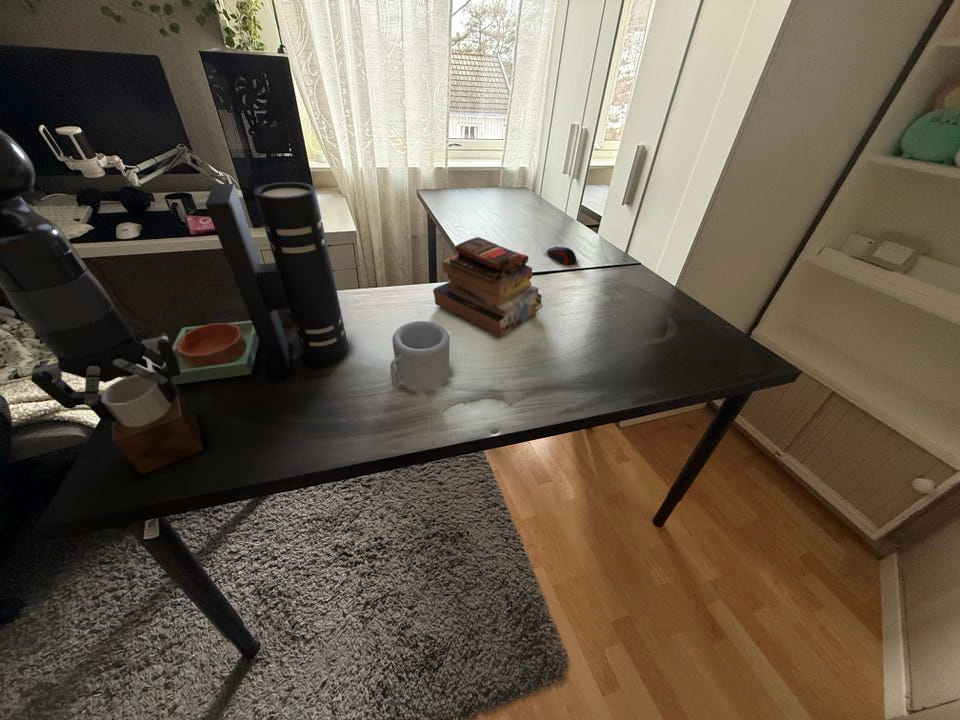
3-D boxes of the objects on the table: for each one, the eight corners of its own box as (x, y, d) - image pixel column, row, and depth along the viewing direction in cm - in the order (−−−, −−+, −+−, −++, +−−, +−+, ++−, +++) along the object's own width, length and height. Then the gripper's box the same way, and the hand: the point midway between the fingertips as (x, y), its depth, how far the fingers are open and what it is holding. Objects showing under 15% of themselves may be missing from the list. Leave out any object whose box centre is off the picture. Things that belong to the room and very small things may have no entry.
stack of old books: (543, 314, 98) (555, 252, 87) (502, 344, 86) (510, 277, 76) (476, 284, 108) (480, 225, 97) (432, 307, 97) (430, 243, 86)
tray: (251, 374, 74) (246, 363, 72) (164, 386, 70) (157, 375, 68) (261, 330, 85) (257, 319, 84) (187, 338, 82) (181, 327, 80)
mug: (421, 351, 83) (419, 313, 76) (460, 372, 78) (461, 333, 72) (374, 384, 74) (368, 344, 67) (415, 409, 69) (412, 368, 63)
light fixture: (351, 362, 79) (317, 198, 58) (273, 377, 74) (205, 204, 53) (345, 334, 86) (313, 179, 65) (273, 346, 81) (213, 183, 60)
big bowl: (188, 377, 71) (180, 362, 69) (181, 347, 78) (173, 333, 76) (252, 357, 77) (246, 343, 74) (240, 331, 83) (234, 317, 81)
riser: (142, 474, 56) (111, 441, 51) (139, 439, 61) (111, 405, 56) (204, 449, 60) (181, 416, 55) (196, 418, 65) (175, 385, 60)
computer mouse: (557, 250, 131) (560, 239, 128) (579, 262, 124) (582, 251, 121) (543, 253, 128) (545, 242, 126) (565, 266, 121) (568, 254, 119)
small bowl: (120, 433, 52) (101, 411, 49) (118, 406, 56) (101, 384, 53) (173, 415, 55) (158, 393, 52) (169, 390, 59) (155, 369, 56)
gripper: (144, 283, 50) (197, 375, 61) (-11, 313, 43) (79, 412, 54) (148, 308, 46) (204, 403, 56) (-24, 347, 38) (77, 448, 49)
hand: (143, 407), depth 55 cm, fingers closed on small bowl, 6 cm apart
